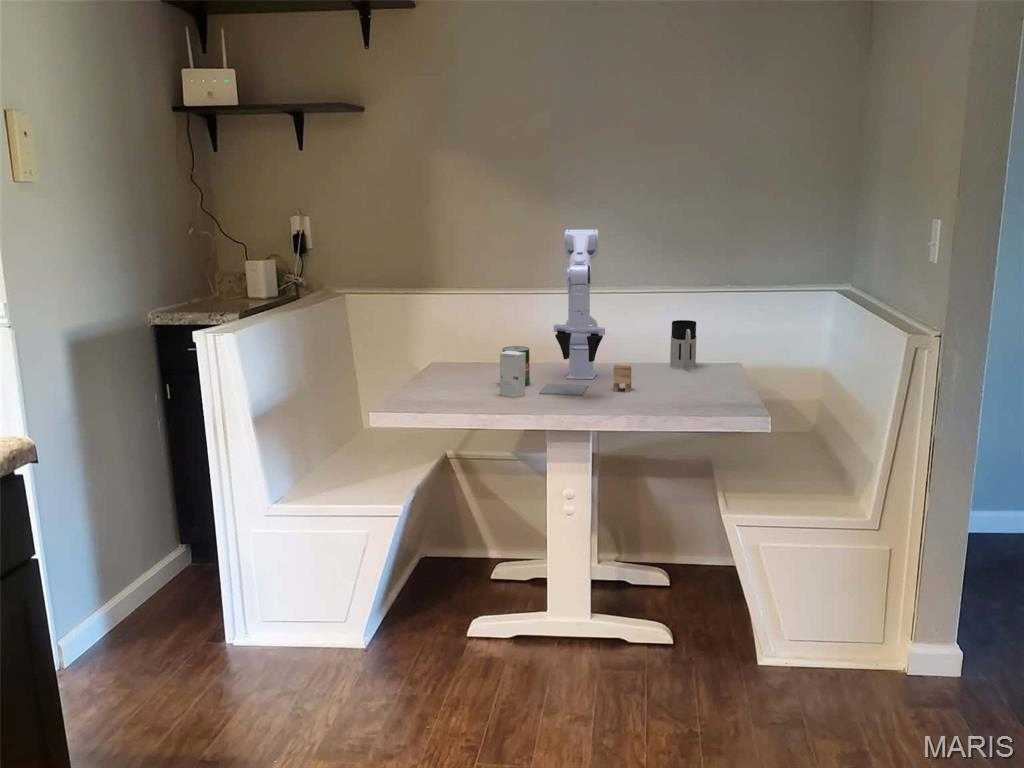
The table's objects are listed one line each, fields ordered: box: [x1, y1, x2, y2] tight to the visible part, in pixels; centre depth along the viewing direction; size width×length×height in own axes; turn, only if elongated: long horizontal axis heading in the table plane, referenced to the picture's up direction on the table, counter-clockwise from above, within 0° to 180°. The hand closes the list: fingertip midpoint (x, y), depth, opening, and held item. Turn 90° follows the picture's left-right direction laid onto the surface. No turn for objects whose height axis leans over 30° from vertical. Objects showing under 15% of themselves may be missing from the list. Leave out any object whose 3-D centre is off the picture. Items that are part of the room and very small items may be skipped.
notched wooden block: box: [612, 364, 632, 393], centre depth 239 cm, size 4×4×7 cm
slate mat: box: [538, 383, 589, 397], centre depth 240 cm, size 12×12×1 cm
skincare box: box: [499, 351, 526, 399], centre depth 234 cm, size 6×4×12 cm
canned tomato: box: [501, 345, 531, 388], centre depth 247 cm, size 8×8×11 cm
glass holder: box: [669, 319, 697, 371], centre depth 265 cm, size 9×14×15 cm, turn 179°
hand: (578, 360), depth 231 cm, fingers open, 7 cm apart
